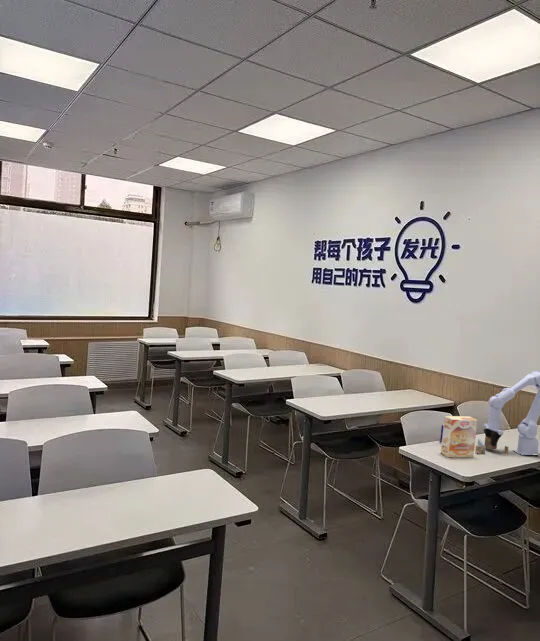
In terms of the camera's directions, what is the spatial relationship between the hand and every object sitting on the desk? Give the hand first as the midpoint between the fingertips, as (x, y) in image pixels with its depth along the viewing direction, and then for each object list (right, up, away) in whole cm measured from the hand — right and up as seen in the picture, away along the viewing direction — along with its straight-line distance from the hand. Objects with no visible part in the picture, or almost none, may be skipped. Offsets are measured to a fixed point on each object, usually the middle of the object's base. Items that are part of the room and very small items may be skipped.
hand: (491, 444), depth 275 cm
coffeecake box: (-23, -3, -13) cm, 27 cm away
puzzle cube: (-18, -2, +9) cm, 21 cm away
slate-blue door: (-6, -3, -1) cm, 7 cm away
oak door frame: (-2, -4, -6) cm, 7 cm away
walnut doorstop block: (0, -2, 0) cm, 2 cm away
